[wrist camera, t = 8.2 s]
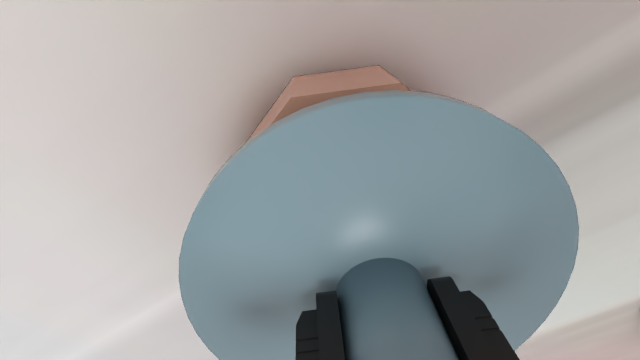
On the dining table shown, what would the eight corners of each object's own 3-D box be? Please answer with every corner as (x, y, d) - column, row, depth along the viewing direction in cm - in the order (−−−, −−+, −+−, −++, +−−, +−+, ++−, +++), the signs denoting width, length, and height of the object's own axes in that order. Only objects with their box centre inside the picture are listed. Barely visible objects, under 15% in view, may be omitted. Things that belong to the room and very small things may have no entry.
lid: (603, 59, 10) (974, 124, 4) (525, 363, 16) (635, 539, 11) (126, 123, 10) (-81, 261, 4) (237, 399, 16) (206, 590, 11)
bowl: (439, 56, 19) (480, 71, 15) (432, 226, 25) (460, 274, 20) (233, 84, 20) (213, 107, 15) (271, 247, 25) (265, 299, 21)
